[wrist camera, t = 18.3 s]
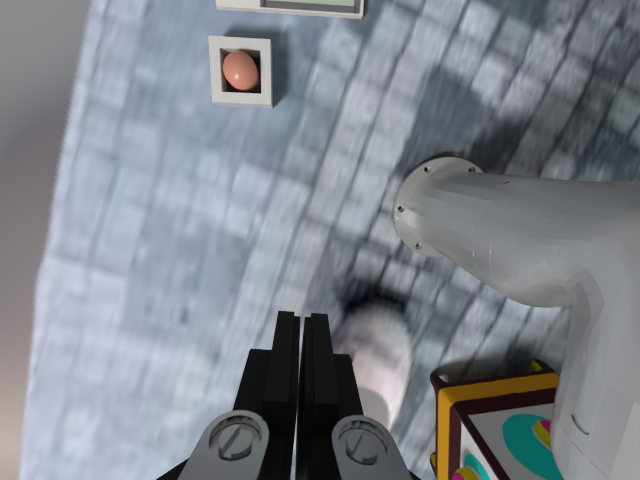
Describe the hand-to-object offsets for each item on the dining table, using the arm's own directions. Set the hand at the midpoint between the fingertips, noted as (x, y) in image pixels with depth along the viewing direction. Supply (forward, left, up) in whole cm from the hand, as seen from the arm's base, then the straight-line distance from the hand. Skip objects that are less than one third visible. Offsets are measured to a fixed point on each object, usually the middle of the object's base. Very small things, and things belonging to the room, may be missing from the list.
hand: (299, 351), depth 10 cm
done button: (+6, -15, -28) cm, 32 cm away
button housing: (+6, -15, -28) cm, 32 cm away
